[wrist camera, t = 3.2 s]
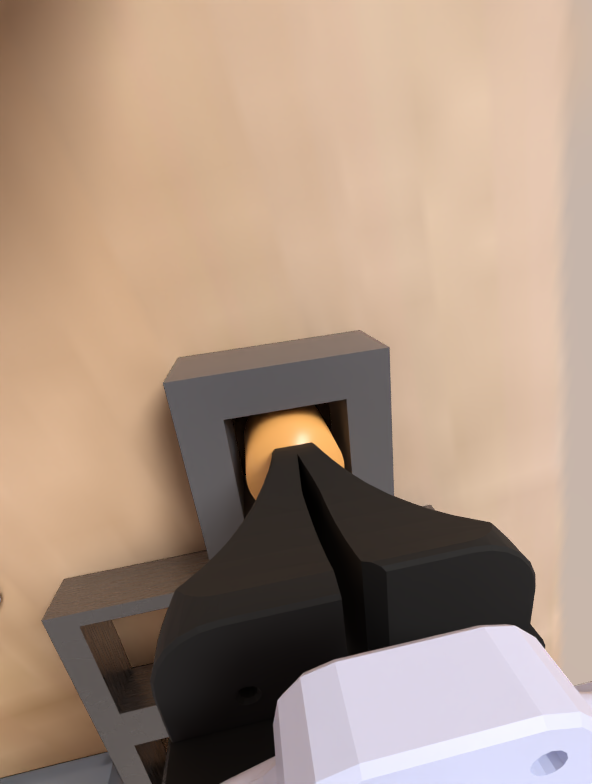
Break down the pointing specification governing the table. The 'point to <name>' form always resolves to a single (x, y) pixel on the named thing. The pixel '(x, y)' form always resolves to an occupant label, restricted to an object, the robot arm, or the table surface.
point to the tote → (72, 773)
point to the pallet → (118, 656)
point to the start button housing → (273, 393)
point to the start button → (283, 439)
